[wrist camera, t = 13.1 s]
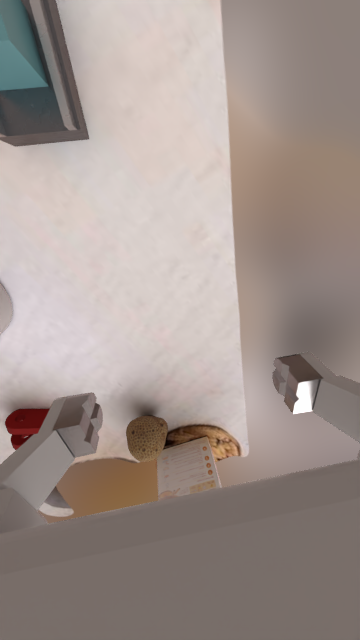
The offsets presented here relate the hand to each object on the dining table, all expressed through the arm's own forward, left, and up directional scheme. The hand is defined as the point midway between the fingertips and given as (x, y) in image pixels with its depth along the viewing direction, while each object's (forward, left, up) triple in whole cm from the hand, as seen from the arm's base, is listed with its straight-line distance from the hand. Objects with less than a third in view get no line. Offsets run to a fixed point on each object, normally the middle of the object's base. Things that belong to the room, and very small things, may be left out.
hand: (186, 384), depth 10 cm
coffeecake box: (-1, -55, -29) cm, 62 cm away
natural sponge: (-9, -38, -29) cm, 49 cm away
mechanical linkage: (-29, -33, -29) cm, 53 cm away
